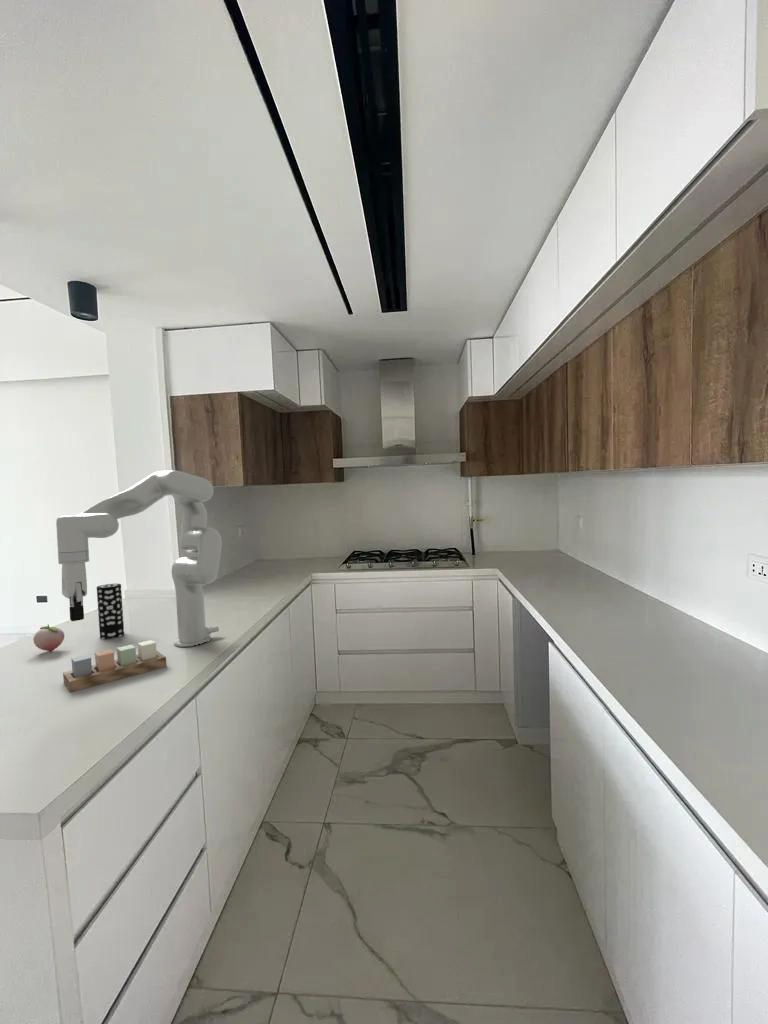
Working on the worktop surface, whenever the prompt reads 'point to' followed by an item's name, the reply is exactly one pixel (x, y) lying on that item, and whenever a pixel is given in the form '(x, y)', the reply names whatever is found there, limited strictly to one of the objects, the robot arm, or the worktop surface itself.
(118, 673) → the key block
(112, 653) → the key terracotta
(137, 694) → the worktop surface
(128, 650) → the key sage
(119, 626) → the spotted tube
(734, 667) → the worktop surface
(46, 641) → the decorative fruit
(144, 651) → the cream block
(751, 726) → the worktop surface
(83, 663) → the grey block
